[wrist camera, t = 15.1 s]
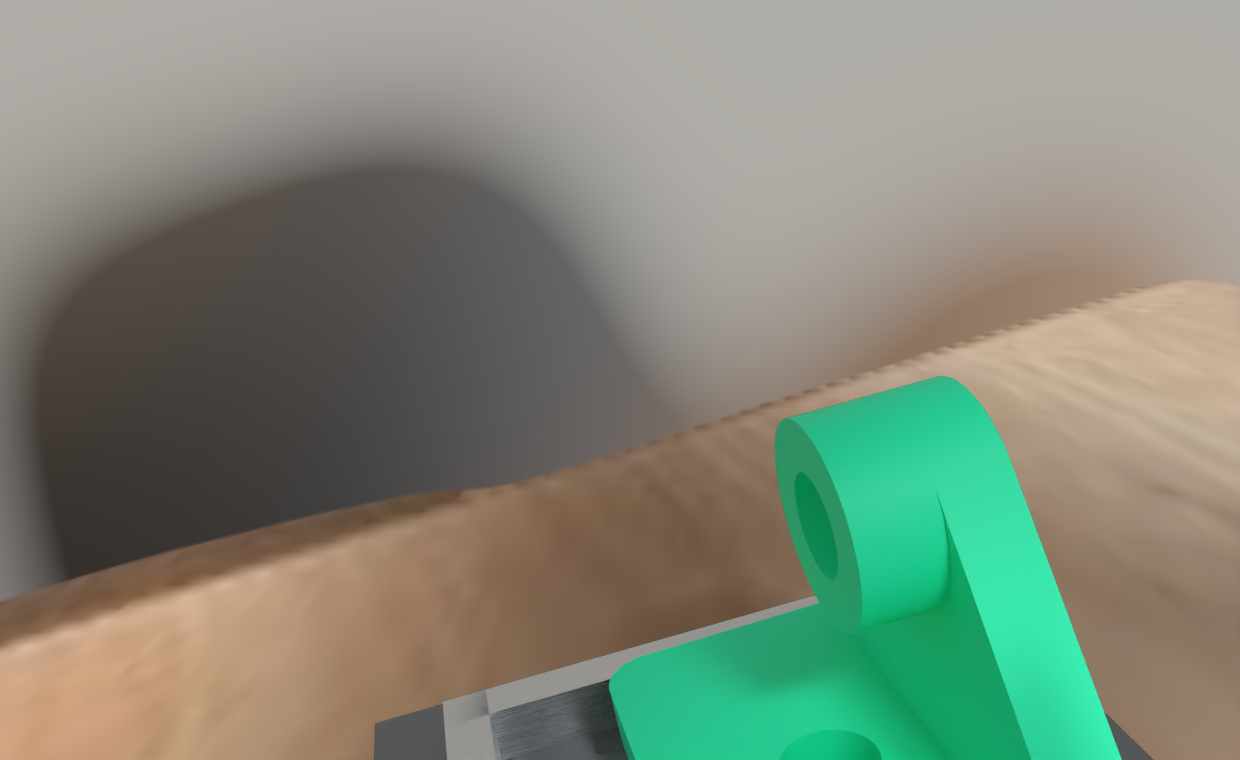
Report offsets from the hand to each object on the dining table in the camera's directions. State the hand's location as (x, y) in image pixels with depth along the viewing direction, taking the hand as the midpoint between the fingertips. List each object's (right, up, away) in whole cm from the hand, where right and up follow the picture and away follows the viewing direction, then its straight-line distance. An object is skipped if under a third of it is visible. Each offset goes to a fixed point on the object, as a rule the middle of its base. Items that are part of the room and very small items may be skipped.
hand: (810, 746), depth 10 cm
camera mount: (+3, -7, +15) cm, 17 cm away
